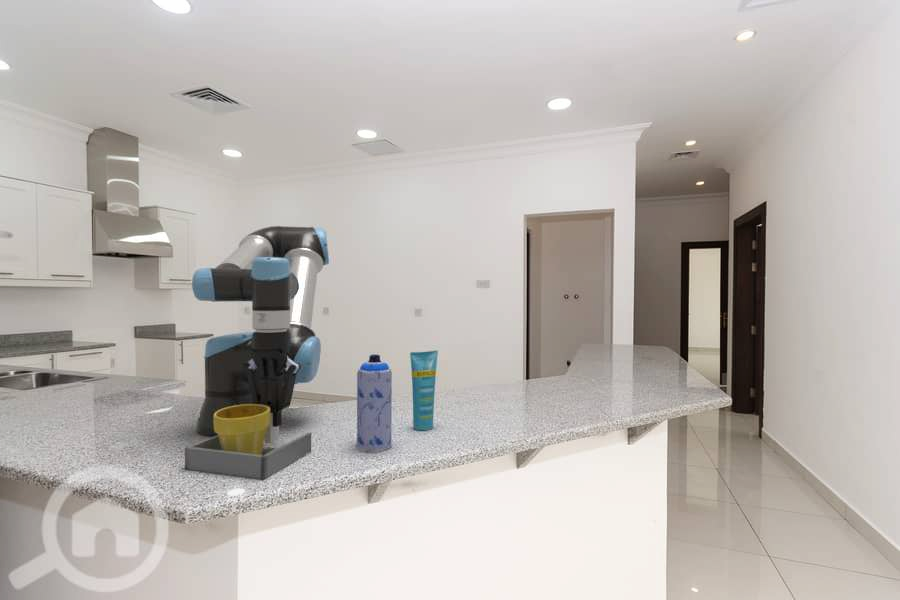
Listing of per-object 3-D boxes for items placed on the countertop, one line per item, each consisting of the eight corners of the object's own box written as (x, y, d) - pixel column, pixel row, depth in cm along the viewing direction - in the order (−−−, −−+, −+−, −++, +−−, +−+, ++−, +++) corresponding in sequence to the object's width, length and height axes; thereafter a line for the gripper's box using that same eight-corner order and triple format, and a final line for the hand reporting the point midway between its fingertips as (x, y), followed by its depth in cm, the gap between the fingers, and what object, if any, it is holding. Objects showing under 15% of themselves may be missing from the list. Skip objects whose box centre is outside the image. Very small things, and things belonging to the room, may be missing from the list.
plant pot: (270, 464, 89) (269, 414, 88) (211, 472, 85) (209, 420, 85) (271, 446, 98) (270, 401, 98) (218, 452, 95) (217, 406, 94)
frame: (184, 468, 86) (184, 447, 86) (240, 443, 101) (241, 425, 101) (264, 479, 81) (264, 457, 81) (311, 451, 96) (311, 432, 96)
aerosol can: (398, 447, 99) (399, 355, 99) (365, 455, 94) (365, 358, 94) (382, 438, 105) (382, 351, 105) (350, 444, 101) (350, 354, 100)
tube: (415, 432, 110) (415, 353, 109) (405, 427, 114) (406, 350, 113) (441, 427, 114) (441, 351, 113) (431, 423, 118) (431, 349, 118)
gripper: (232, 331, 95) (233, 443, 95) (287, 332, 91) (287, 449, 92) (257, 328, 102) (257, 433, 102) (308, 329, 99) (308, 438, 99)
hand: (271, 440), depth 97 cm, fingers closed
